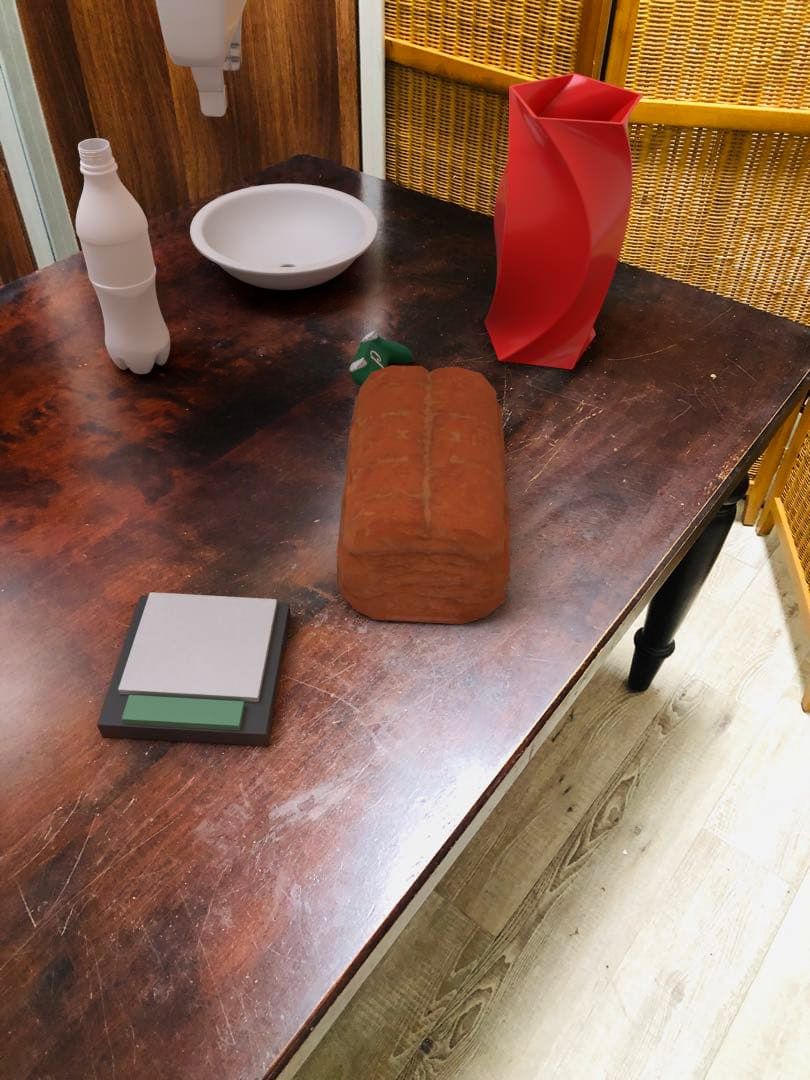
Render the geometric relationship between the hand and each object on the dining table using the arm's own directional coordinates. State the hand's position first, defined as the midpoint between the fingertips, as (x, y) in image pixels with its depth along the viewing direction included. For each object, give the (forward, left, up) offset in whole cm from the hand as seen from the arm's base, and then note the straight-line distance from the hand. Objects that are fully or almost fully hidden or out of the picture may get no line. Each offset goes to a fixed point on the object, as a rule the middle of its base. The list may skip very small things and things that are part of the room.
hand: (223, 89), depth 69 cm
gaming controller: (+12, +11, -35) cm, 39 cm away
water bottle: (-16, +12, -35) cm, 41 cm away
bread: (+18, -11, -35) cm, 41 cm away
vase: (+31, +22, -35) cm, 52 cm away
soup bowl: (-2, +34, -35) cm, 49 cm away
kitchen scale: (0, -31, -35) cm, 47 cm away
